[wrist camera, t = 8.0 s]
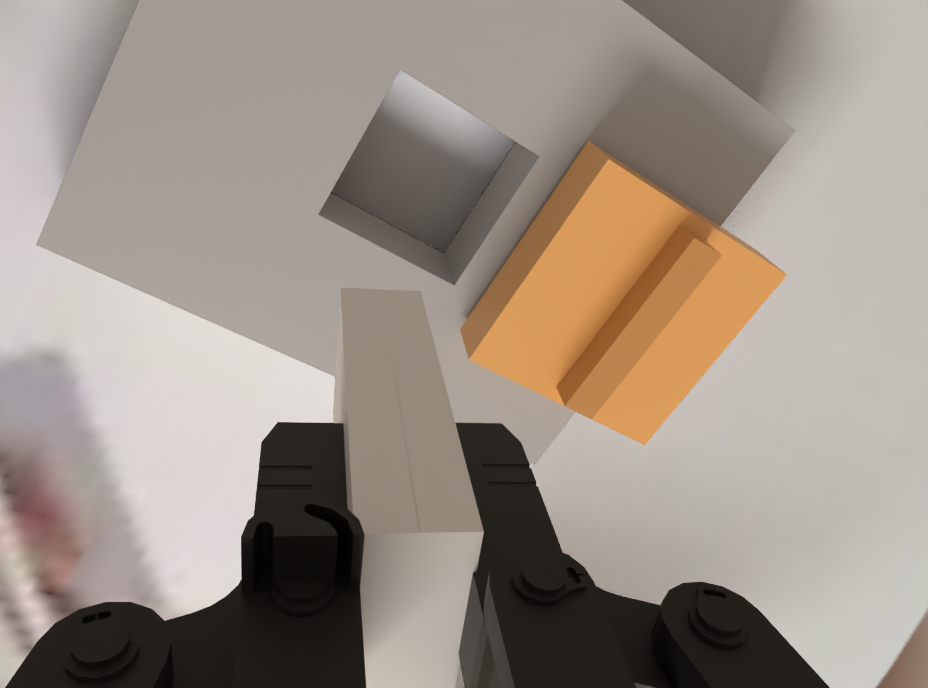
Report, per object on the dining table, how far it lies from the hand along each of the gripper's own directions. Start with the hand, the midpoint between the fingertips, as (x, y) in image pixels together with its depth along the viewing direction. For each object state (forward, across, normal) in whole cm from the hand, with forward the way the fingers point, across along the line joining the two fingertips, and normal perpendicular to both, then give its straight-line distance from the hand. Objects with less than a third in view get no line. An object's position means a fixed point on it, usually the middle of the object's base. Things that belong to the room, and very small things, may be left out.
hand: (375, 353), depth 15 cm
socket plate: (+15, +3, 0) cm, 15 cm away
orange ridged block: (+12, +10, -4) cm, 15 cm away
